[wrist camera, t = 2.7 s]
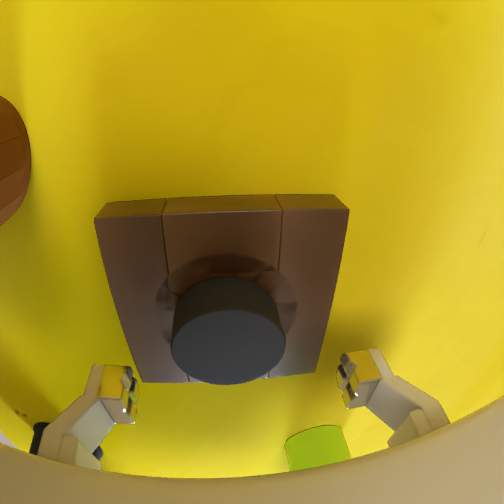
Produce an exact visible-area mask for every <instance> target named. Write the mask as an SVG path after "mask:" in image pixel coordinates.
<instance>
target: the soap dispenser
mask: <svg viewBox="0 0 504 504" xmlns="http://www.w3.org/2000/svg"><path fill="white" fill-rule="evenodd" d="M285 449H286V454H287V458H288V463H289V467H290V471H296V470H302V469H307V468H313V467H318V466H323V465H327V464H332V463H336V462H341V461H345V460H349V459H351V456H350V453H349V450H348V447H347V444H346V441H345V438H344V435H343V432H342V430H341V428H340V427H338V426H332V425H329V426H320V427H315V428H311V429H308V430H305V431H302V432H300V433H298V434H296V435H294V436H292V437H291V438H289V439H288V440H287V441H286V443H285Z"/></svg>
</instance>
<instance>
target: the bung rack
mask: <svg viewBox="0 0 504 504" xmlns="http://www.w3.org/2000/svg"><path fill="white" fill-rule="evenodd" d="M349 211H350V210H349V208H348V207H347V206H345V205H344V204H343V203H342V202H341V201H340V200H339V199H338V198H337V197H336V196H335V195H324V194H275V195H228V196H202V197H181V198H168V199H166V198H165V199H150V200H136V201H123V202H111V203H107V204H106V205H105V206H104V207H103V208H102V210H101V211H100V212H99V213H98V214H97V216H96V217H95V218H94V224H95V228H96V233H97V238H98V242H99V247H100V251H101V255H102V259H103V263H104V267H105V271H106V275H107V279H108V283H109V286H110V290H111V293H112V297H113V300H114V303H115V307H116V310H117V313H118V316H119V320H120V323H121V326H122V329H123V332H124V335H125V338H126V340H127V343H128V346H129V349H130V352H131V354H132V357H133V360H134V362H135V365H136V368H137V370H138V373H139V375H140V378H141V380H142V382H143V383H188V382H191V383H193V382H202V381H199V380H197V379H195V378H192V377H191V376H189V375H187V374H186V373H185V372H183V371H182V370H181V369H180V368H179V367H178V366H177V364H176V363H175V361H174V359H173V357H172V354H171V337H172V327H173V318H174V311H175V307H176V305H177V303H178V301H179V300H180V298H181V297H182V296H183V295H184V294H185V293H186V292H187V291H188V290H189V289H190V288H192V287H194V286H195V285H197V284H199V283H201V282H204V281H207V280H210V279H215V278H223V277H232V278H240V279H244V280H248V281H250V282H253V283H255V284H257V285H259V286H260V287H262V288H263V289H265V290H266V291H267V292H268V293H269V294H270V296H271V297H272V298H273V300H274V302H275V304H276V307H277V310H278V314H279V317H280V321H281V324H282V327H283V331H284V334H285V339H286V348H285V352H284V354H283V357H282V358H281V360H280V362H279V363H278V364H277V365H276V366H275V367H274V368H273V369H272V370H271V371H269V372H268V373H266V374H265V375H263V376H261V377H259V378H257V379H261V378H268V377H269V378H273V377H282V376H290V375H298V374H306V373H313V372H315V370H316V366H317V363H318V359H319V355H320V351H321V348H322V344H323V340H324V336H325V332H326V328H327V323H328V319H329V315H330V311H331V306H332V302H333V297H334V292H335V288H336V283H337V278H338V273H339V268H340V263H341V258H342V252H343V247H344V241H345V235H346V230H347V224H348V217H349Z"/></svg>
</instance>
